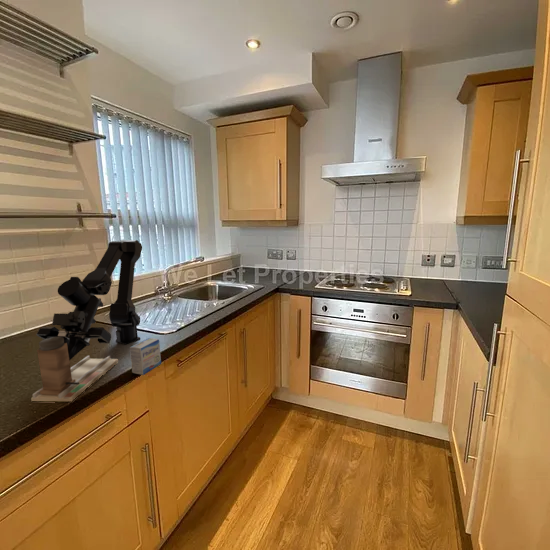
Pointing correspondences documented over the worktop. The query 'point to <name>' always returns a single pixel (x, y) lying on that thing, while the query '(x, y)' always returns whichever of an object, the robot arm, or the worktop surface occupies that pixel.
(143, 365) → the medicine box
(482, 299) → the worktop surface
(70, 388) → the scale board
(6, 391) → the worktop surface
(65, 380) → the post
